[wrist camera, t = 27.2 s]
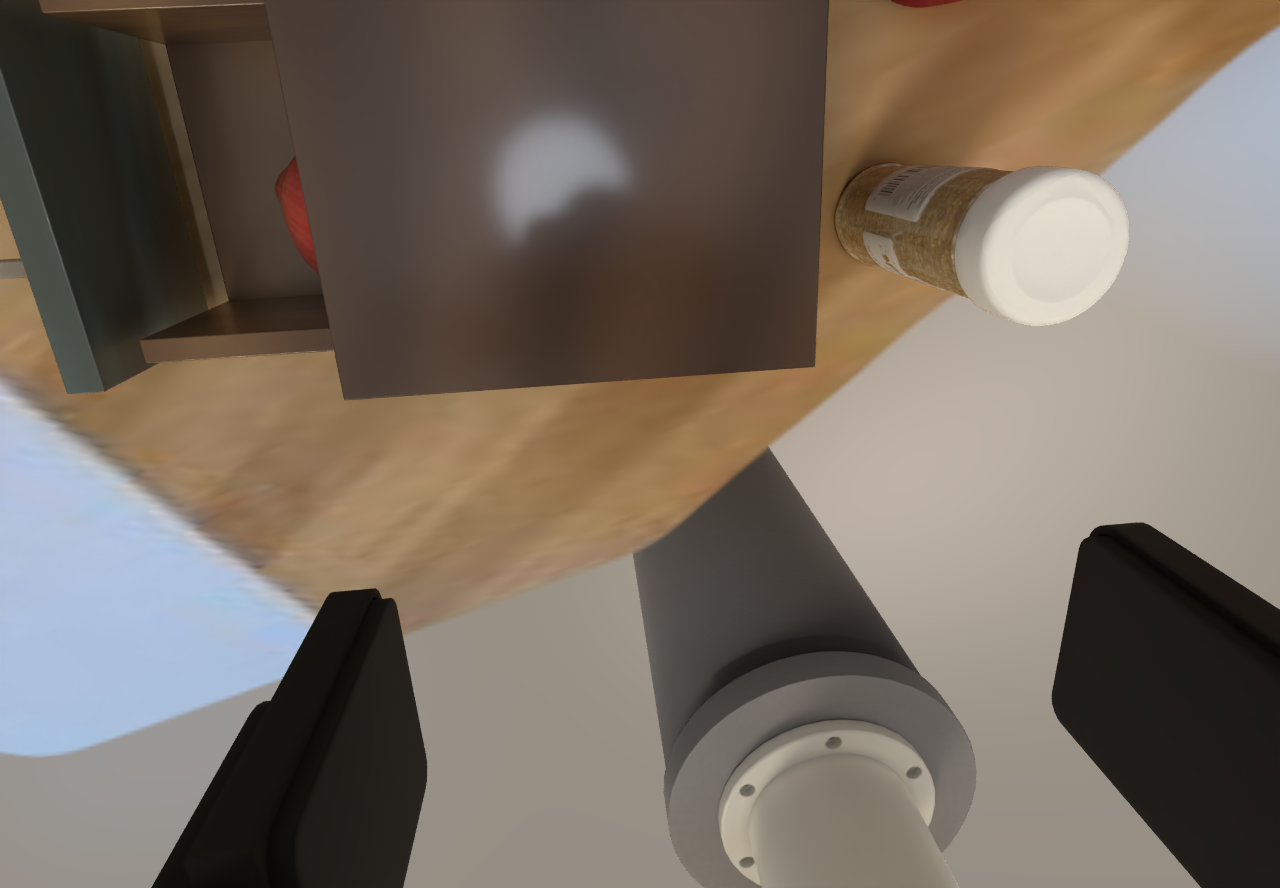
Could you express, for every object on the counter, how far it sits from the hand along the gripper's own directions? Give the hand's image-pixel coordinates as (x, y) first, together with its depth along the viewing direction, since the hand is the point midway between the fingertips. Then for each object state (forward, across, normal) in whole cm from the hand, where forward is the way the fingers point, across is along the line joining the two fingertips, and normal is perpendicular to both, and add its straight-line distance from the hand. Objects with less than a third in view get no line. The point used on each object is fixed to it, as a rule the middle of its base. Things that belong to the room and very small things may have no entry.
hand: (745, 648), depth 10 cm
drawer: (+25, +14, -6) cm, 30 cm away
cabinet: (+26, +2, -6) cm, 27 cm away
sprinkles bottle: (+26, -12, -3) cm, 29 cm away
